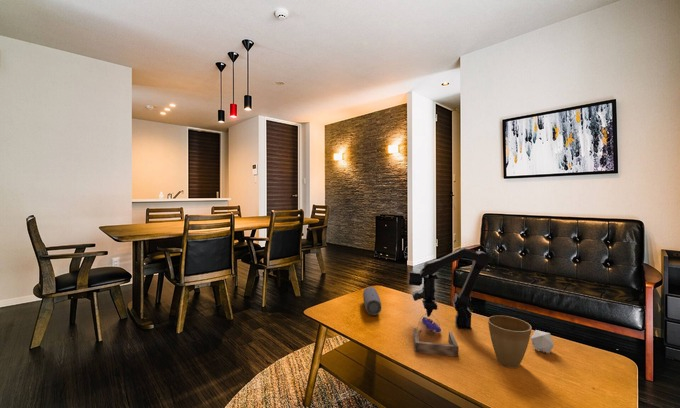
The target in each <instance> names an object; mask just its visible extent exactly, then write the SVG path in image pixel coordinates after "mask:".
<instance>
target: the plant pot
mask: <svg viewBox="0 0 680 408" xmlns="http://www.w3.org/2000/svg"><path fill="white" fill-rule="evenodd" d="M487 324H488V330H489V331H488V332H489V335H490V339H491V344H492V347H493V351H494V354H495V356H496V359H497V361H498V363H499V364H500V365H502V366H504V367H507V368H511V369H512V368H513V369H514V368H515V369H516V368H519V367H520V365H521V363H522V361H523V359H524V357H525V354H526V351H527V349H528V346H529V342H530V340H531V335H532V334H531V333H532V330H533V329H532V325H531V324H529V322H526V321H525V320H522V319H520V318H516V317H513V316H509V315H492V316H489V317H488V319H487Z"/></svg>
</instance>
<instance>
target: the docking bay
mask: <svg viewBox="0 0 680 408" xmlns="http://www.w3.org/2000/svg"><path fill="white" fill-rule="evenodd" d="M412 331H413V333H412V335H413V336H412V338H413V344H414V353H421V354H428V355H429V354H431V355H439V356H447V357H456V358H459V345H458V342H457V340H456V338H455V335H454V333H453V331H448V343H449V344H448V343H439V342H429V341H422V340H421V341H420V340H419V332H418V327H417V328H413V329H412Z"/></svg>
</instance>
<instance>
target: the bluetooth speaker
mask: <svg viewBox="0 0 680 408" xmlns="http://www.w3.org/2000/svg"><path fill="white" fill-rule="evenodd" d="M362 297H363V304H364V307H365V310H366V312H367V313H368V314H369V315H371V316H376V315H378V314H380V313H381V312H382V302H381V301H382V300H381V297H380V296H379V293H378V290H376V288H374V287H373V286H367V287H366V288H365V289H364V290H363V292H362Z"/></svg>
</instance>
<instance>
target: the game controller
mask: <svg viewBox="0 0 680 408" xmlns="http://www.w3.org/2000/svg"><path fill="white" fill-rule="evenodd" d="M430 316H433V317H434V315H433V314H432V313H431V314H430ZM420 319H421V324H423V325H424V326H425V327H426V329H427V330H428V332H429V336H430V338H431V339H432V340H434V337H433V336H432V335H431V332H434V333H437V334H438V333H441V331H442V328H441V325H440V324H439V323H437V322H439V321H438V319H436V320H437V322H434V321H433V319H431V318H429V317H425V316H421V318H420ZM419 324H420V322H418V324H417V325H419ZM417 332H418V333H422V330H417Z"/></svg>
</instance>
